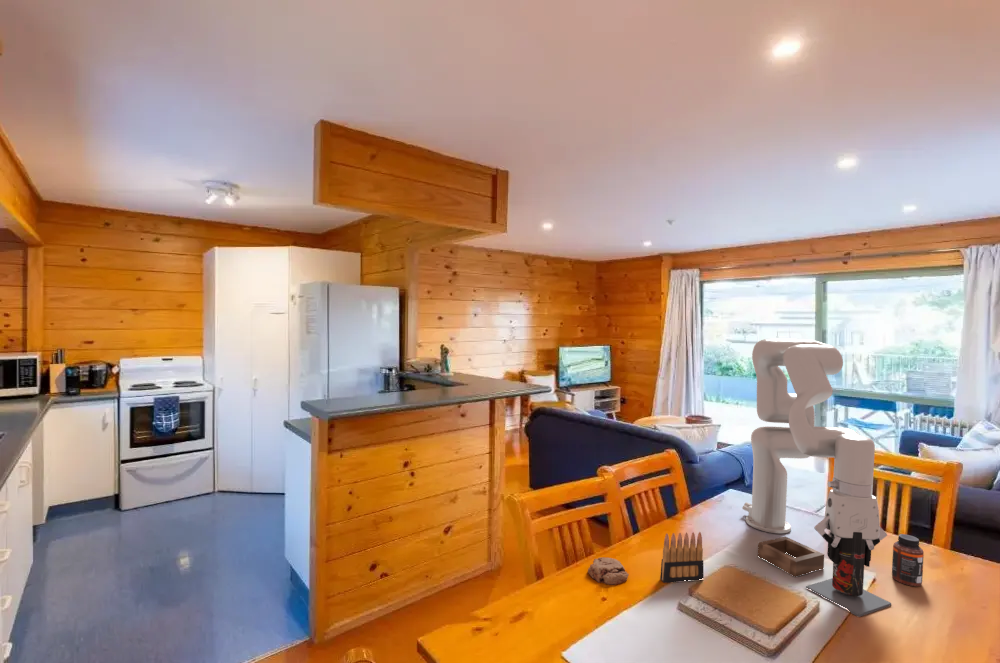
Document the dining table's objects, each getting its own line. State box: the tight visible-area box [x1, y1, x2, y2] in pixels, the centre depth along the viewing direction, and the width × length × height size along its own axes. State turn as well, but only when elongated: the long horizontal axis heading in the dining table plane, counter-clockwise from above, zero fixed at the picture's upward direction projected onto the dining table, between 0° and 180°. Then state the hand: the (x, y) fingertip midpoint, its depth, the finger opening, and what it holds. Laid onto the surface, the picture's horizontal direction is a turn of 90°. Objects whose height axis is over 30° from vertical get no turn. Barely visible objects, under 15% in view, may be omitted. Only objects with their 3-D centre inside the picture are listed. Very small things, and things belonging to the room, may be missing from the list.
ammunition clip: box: [659, 531, 705, 584], centre depth 120 cm, size 11×2×12 cm, turn 98°
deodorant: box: [831, 532, 866, 596], centre depth 115 cm, size 6×6×15 cm
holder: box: [756, 536, 825, 578], centre depth 130 cm, size 11×11×4 cm
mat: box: [805, 578, 892, 618], centre depth 115 cm, size 12×12×1 cm
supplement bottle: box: [891, 533, 925, 587], centre depth 122 cm, size 6×6×11 cm
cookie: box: [587, 557, 629, 586], centre depth 123 cm, size 10×11×3 cm
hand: (848, 561), depth 115 cm, fingers closed on deodorant, 6 cm apart
